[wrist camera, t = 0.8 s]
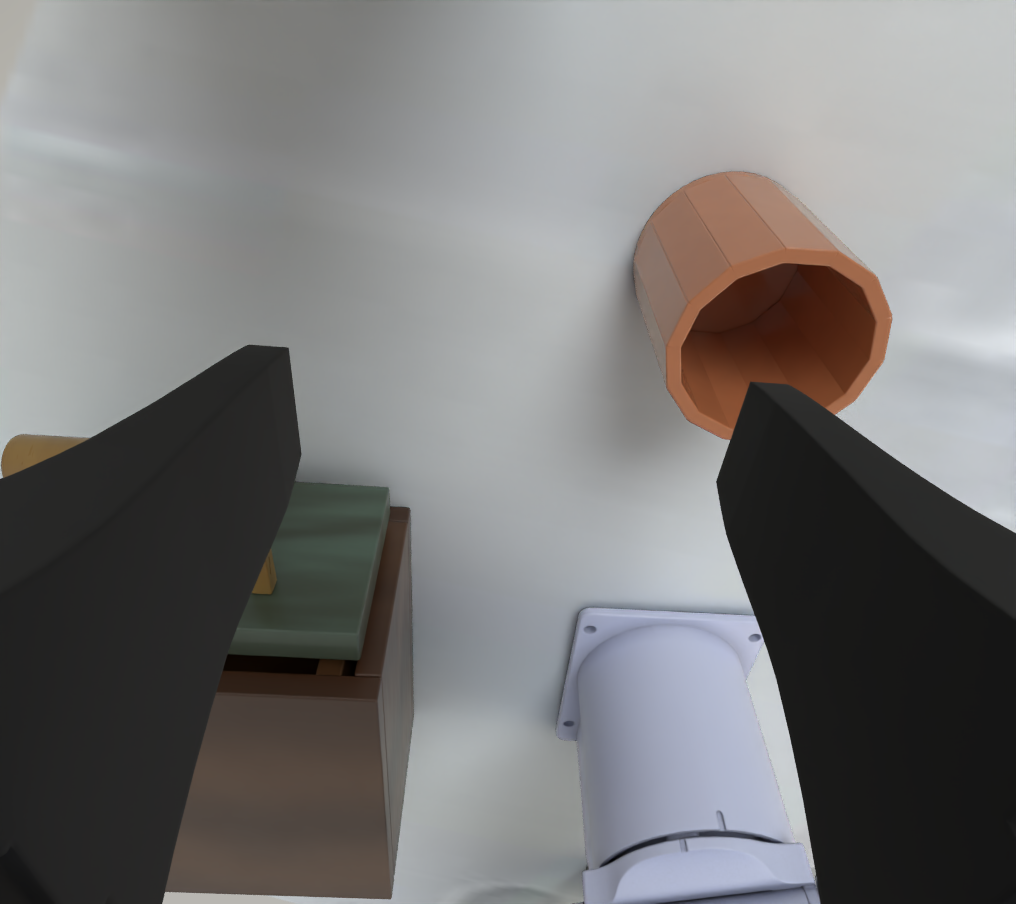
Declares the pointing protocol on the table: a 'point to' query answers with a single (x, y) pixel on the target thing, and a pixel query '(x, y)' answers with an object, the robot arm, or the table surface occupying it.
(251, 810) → the cabinet
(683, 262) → the orange brown faceted cup
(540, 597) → the table surface
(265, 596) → the drawer
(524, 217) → the table surface
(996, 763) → the robot arm
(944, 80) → the table surface
